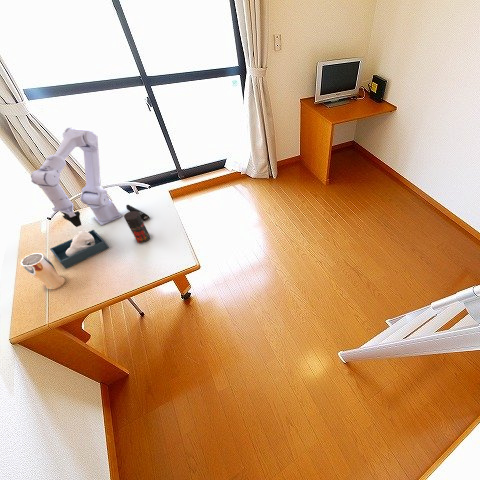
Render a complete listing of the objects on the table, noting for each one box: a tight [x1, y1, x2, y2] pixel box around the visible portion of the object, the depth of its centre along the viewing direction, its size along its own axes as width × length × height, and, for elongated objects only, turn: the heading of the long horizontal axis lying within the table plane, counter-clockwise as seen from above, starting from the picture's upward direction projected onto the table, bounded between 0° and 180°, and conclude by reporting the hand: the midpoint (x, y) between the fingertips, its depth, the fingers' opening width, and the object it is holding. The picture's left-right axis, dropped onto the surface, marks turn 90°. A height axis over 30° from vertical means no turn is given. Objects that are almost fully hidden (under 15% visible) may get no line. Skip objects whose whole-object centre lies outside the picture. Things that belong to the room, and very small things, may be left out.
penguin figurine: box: [66, 230, 95, 257], centre depth 123 cm, size 6×8×12 cm
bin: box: [49, 229, 109, 270], centre depth 124 cm, size 17×11×4 cm, turn 141°
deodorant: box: [123, 211, 151, 244], centre depth 129 cm, size 6×6×15 cm
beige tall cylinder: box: [20, 252, 66, 290], centre depth 108 cm, size 7×7×15 cm
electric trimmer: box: [125, 204, 151, 222], centre depth 146 cm, size 4×16×3 cm, turn 58°
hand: (75, 221), depth 125 cm, fingers open, 7 cm apart
